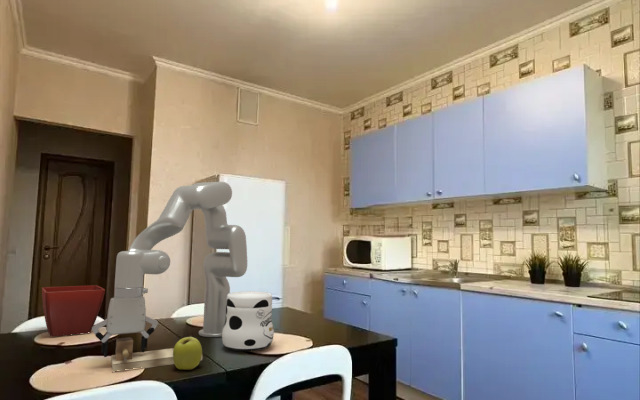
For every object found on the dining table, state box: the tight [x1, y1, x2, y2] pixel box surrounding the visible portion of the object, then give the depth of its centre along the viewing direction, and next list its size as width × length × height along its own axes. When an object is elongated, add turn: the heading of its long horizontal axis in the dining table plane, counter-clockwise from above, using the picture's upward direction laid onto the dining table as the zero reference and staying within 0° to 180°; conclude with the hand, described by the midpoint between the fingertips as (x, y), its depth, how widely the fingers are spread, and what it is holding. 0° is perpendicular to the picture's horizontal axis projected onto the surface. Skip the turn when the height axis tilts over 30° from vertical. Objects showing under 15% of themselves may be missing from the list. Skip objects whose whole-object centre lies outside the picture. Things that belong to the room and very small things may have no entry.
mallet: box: [114, 337, 134, 361], centre depth 110 cm, size 4×10×5 cm, turn 31°
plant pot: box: [41, 284, 106, 337], centre depth 150 cm, size 19×19×17 cm
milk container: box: [221, 290, 275, 352], centre depth 133 cm, size 17×17×18 cm
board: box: [110, 347, 204, 371], centre depth 115 cm, size 24×10×2 cm, turn 121°
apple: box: [173, 332, 203, 371], centre depth 110 cm, size 8×8×10 cm
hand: (124, 353), depth 112 cm, fingers open, 9 cm apart
